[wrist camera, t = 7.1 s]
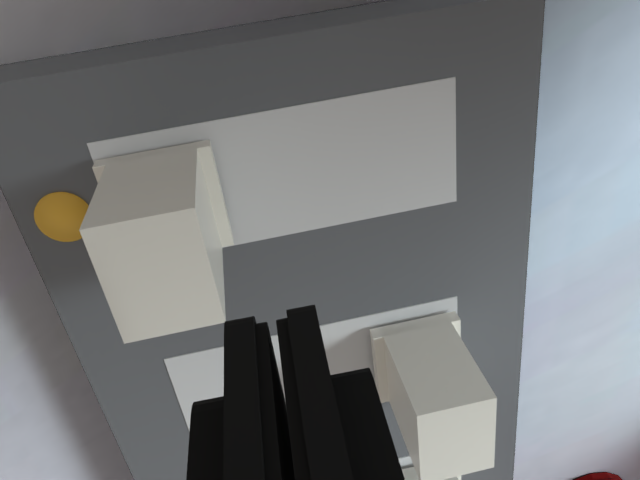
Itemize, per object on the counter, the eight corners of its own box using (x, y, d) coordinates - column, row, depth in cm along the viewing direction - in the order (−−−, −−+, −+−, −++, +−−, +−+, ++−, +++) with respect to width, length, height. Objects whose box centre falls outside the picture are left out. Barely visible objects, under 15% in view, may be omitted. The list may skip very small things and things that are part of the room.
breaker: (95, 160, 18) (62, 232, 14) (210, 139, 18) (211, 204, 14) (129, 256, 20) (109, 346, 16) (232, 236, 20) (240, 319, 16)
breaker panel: (-10, 67, 19) (-45, 91, 16) (503, -19, 21) (547, -10, 18) (188, 541, 33) (186, 596, 30) (487, 469, 34) (511, 515, 32)
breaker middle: (369, 329, 23) (405, 419, 19) (454, 311, 23) (508, 395, 19) (376, 393, 25) (410, 487, 21) (455, 375, 25) (504, 465, 21)
